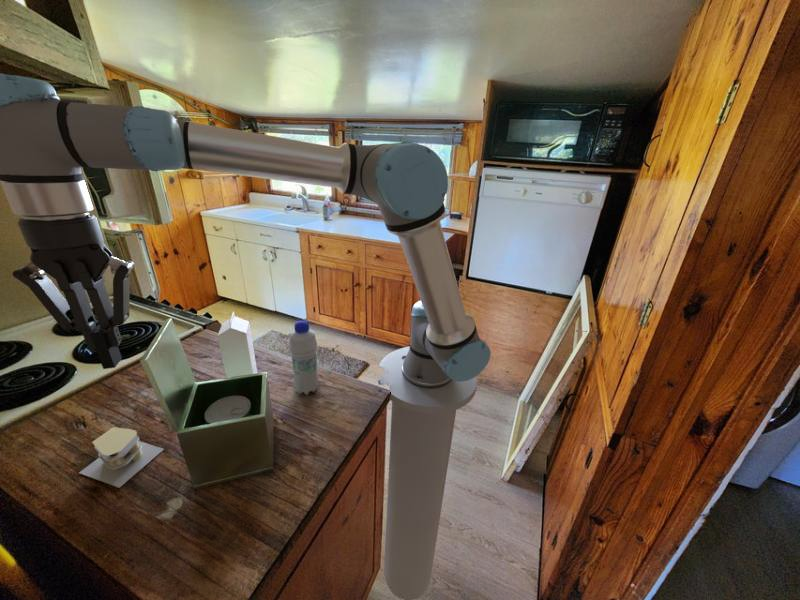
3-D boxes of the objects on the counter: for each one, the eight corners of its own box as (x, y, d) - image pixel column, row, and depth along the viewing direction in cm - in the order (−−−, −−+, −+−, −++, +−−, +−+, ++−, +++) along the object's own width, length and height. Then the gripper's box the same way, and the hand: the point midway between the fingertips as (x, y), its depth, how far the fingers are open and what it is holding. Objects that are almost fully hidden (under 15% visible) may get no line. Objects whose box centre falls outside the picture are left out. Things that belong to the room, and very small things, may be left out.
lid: (171, 317, 59) (166, 318, 59) (145, 359, 47) (139, 360, 47) (195, 380, 65) (191, 381, 65) (178, 430, 53) (173, 432, 53)
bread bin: (273, 420, 75) (266, 371, 70) (273, 470, 64) (264, 416, 58) (207, 433, 71) (194, 382, 65) (194, 489, 59) (176, 433, 54)
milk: (231, 402, 80) (213, 323, 71) (234, 386, 85) (219, 311, 76) (257, 398, 82) (243, 321, 73) (259, 382, 87) (247, 309, 78)
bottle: (306, 377, 90) (301, 313, 82) (325, 386, 87) (321, 320, 79) (287, 391, 84) (280, 323, 76) (306, 401, 81) (300, 331, 73)
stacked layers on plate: (78, 473, 61) (67, 452, 59) (126, 437, 69) (119, 417, 67) (119, 488, 59) (109, 466, 57) (164, 449, 67) (157, 429, 64)
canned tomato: (206, 465, 63) (194, 422, 58) (229, 433, 70) (220, 393, 66) (245, 470, 62) (236, 427, 58) (264, 437, 70) (258, 397, 65)
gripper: (128, 210, 48) (166, 345, 58) (11, 210, 44) (74, 356, 53) (105, 219, 42) (153, 370, 51) (-34, 221, 37) (46, 385, 47)
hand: (112, 363), depth 52 cm, fingers closed
